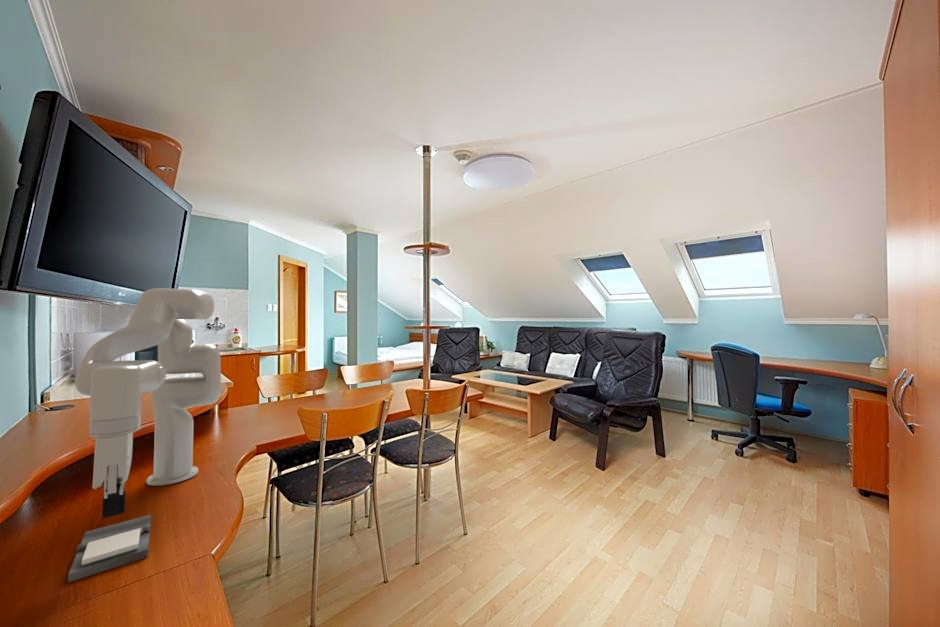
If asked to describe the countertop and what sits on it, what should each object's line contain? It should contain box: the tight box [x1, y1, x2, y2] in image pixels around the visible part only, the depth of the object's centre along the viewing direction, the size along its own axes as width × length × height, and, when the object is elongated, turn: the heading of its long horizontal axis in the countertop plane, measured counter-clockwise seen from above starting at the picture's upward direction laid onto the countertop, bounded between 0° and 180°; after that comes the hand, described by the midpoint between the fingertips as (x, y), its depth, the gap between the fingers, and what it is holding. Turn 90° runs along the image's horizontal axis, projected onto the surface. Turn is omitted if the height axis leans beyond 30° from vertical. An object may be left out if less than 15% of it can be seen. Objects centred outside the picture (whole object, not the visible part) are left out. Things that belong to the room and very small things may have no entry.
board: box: [67, 514, 152, 583], centre depth 76 cm, size 18×11×3 cm, turn 41°
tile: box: [81, 528, 141, 566], centre depth 73 cm, size 8×8×1 cm
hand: (114, 513), depth 72 cm, fingers closed
